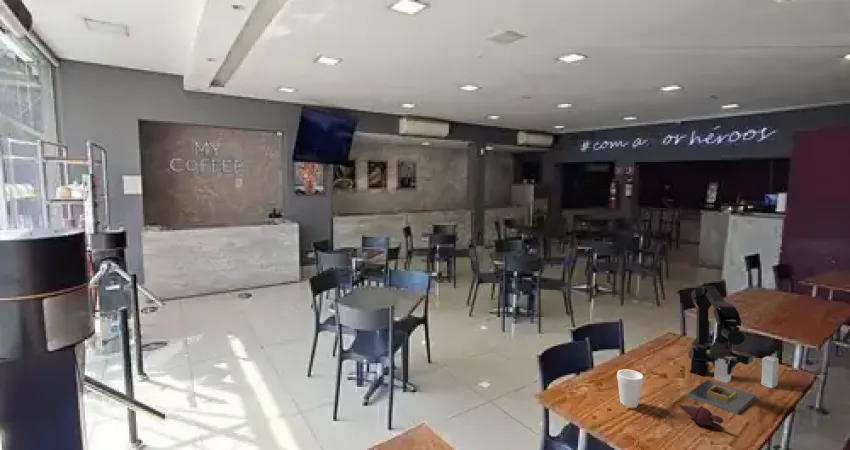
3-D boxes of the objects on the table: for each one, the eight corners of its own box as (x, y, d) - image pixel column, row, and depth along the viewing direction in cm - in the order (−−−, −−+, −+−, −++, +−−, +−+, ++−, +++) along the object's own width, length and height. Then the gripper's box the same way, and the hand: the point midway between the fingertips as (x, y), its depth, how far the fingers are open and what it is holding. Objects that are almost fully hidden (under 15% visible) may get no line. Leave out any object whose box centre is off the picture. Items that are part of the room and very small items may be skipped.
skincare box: (772, 388, 189) (774, 361, 188) (760, 384, 193) (761, 358, 192) (778, 384, 193) (779, 358, 192) (765, 381, 196) (767, 355, 195)
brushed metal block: (714, 379, 182) (715, 357, 181) (718, 376, 185) (719, 354, 184) (726, 383, 178) (727, 360, 178) (730, 380, 181) (732, 357, 180)
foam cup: (631, 413, 171) (632, 381, 170) (611, 403, 179) (612, 372, 178) (647, 407, 175) (648, 376, 174) (627, 397, 183) (628, 367, 182)
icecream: (674, 403, 166) (718, 423, 154) (684, 393, 170) (728, 412, 158) (674, 417, 168) (717, 439, 156) (684, 407, 172) (727, 427, 160)
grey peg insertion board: (687, 396, 184) (687, 390, 183) (707, 383, 195) (708, 377, 195) (737, 414, 169) (737, 407, 169) (756, 398, 181) (756, 392, 181)
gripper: (691, 334, 183) (689, 370, 184) (744, 347, 168) (741, 386, 169) (702, 328, 189) (701, 363, 191) (754, 340, 174) (752, 378, 176)
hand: (722, 372), depth 181 cm, fingers closed on brushed metal block, 4 cm apart
